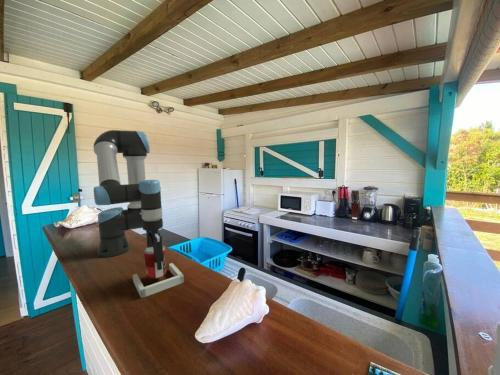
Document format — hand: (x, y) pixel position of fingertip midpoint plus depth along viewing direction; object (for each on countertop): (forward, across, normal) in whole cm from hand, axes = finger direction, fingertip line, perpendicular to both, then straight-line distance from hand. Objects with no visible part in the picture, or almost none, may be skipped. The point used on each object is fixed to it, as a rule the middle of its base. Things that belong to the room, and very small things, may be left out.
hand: (156, 272), depth 90 cm
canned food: (+1, 0, 0) cm, 1 cm away
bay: (+3, +2, 0) cm, 4 cm away
